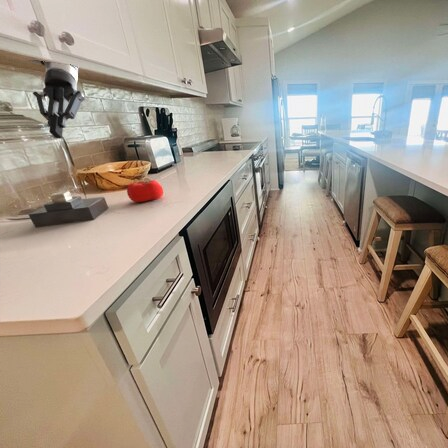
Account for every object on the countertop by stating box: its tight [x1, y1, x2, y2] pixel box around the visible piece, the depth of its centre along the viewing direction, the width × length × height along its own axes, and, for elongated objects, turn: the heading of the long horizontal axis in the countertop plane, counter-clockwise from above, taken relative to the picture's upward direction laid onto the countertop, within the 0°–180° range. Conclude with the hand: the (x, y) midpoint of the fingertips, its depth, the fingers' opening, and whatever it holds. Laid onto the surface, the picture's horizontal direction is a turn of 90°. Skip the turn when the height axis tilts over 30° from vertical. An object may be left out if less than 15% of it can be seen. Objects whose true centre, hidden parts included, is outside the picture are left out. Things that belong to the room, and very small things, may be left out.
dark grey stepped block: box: [28, 195, 109, 229], centre depth 72 cm, size 14×11×6 cm
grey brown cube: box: [49, 191, 73, 203], centre depth 69 cm, size 3×3×2 cm
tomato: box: [126, 179, 164, 203], centre depth 86 cm, size 10×11×6 cm
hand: (55, 134), depth 72 cm, fingers closed
